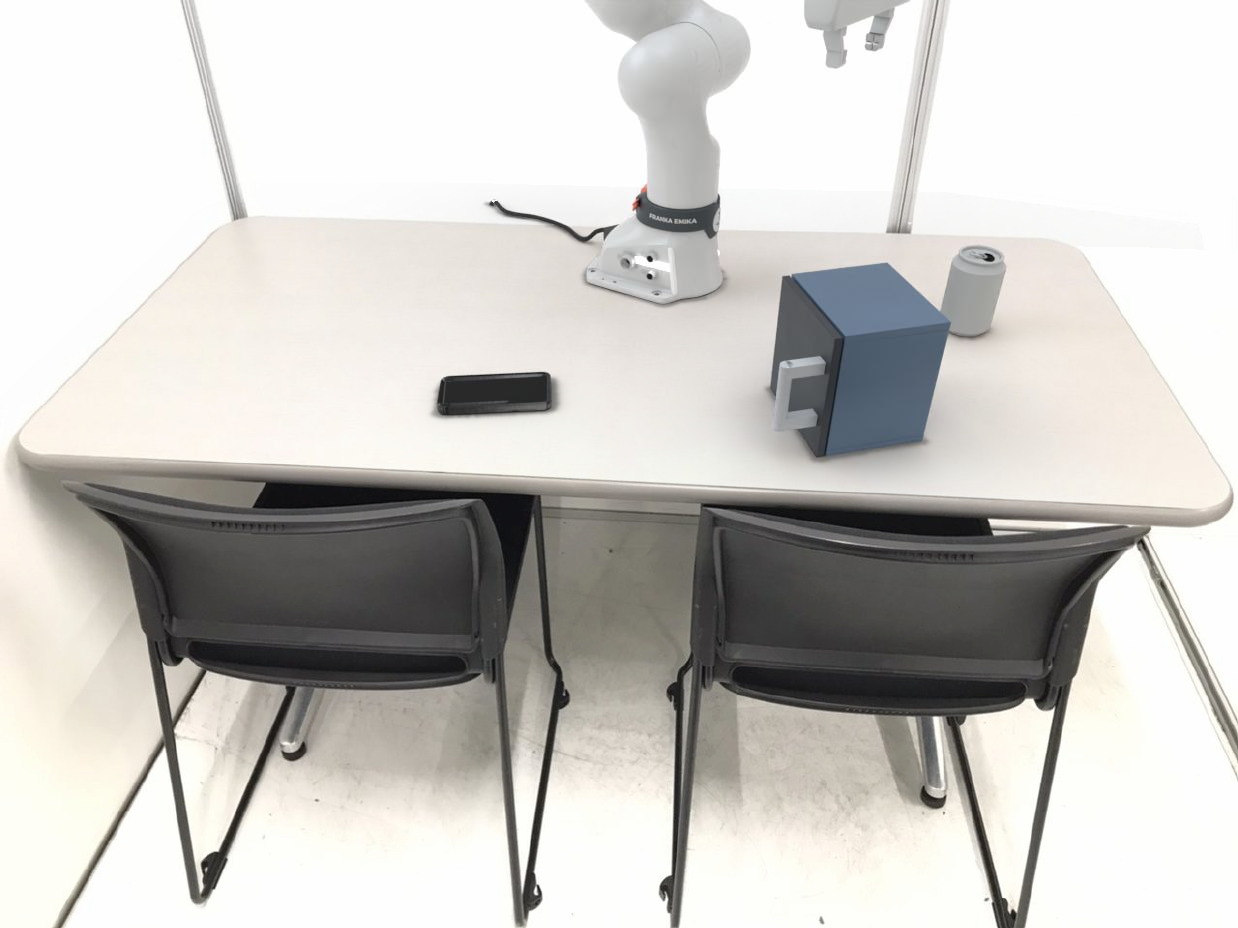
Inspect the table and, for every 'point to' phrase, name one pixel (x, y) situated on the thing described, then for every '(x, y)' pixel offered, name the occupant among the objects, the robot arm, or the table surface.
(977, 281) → the can
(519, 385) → the phone
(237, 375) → the table surface
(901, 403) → the blue cabinet body
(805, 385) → the cabinet door
